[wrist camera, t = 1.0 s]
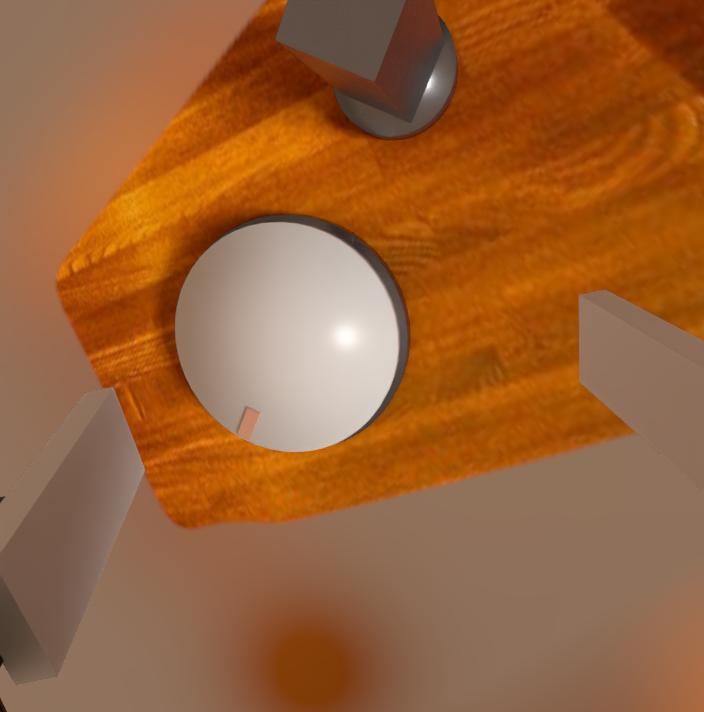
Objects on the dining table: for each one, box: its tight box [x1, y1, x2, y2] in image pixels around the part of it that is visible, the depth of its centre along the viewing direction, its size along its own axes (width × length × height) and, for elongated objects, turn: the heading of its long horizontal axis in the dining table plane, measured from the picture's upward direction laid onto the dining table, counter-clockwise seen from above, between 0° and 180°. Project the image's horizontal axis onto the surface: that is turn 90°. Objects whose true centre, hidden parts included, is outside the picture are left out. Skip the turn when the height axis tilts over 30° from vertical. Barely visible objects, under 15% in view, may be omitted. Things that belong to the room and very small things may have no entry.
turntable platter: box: [175, 222, 400, 452], centre depth 41 cm, size 17×17×2 cm
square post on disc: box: [275, 0, 458, 140], centre depth 31 cm, size 8×8×14 cm
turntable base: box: [211, 215, 410, 445], centre depth 43 cm, size 18×18×2 cm
